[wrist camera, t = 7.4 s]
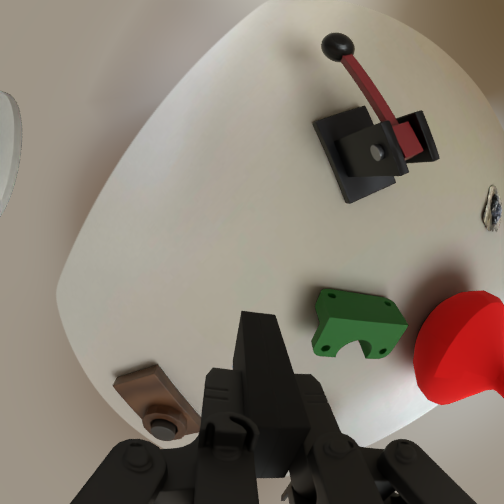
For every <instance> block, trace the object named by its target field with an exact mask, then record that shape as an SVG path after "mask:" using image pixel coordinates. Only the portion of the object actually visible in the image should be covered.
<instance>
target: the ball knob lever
mask: <svg viewBox="0 0 504 504" xmlns="http://www.w3.org/2000/svg"><path fill="white" fill-rule="evenodd" d="M321 48H322V51H323V53H324V55H325V56H326V57H327V58H329V59H330V60H332V61H335V62H341V63H342V64H343V65H344V67H345V68H346V70H347V71H348V72H349V74H350V75H351V76H352V78H353V79H354V81H355V82H356V84H357V85H358V87H359V88H360V90H361V91H362V93H363V94H364V96H365V97H366V99H367V100H368V102H369V103H370V105H371V107H372V108H373V110H374V111H375V113H376V115H377V116H378V118H379V120H380V121H381V122H384V121H387V120H390V123H391V125H392V128H393V130H394V132H395V135H396V137H397V140H398V143H399V145H400V148H401V151H402V153H403V156H404V159H405V160H408V159H410V158H412V157H414V156H415V155H417V154H419V153H421V152H422V151H423V148H422V146H421V145H420V143H419V141H418V139H417V137H416V135H415V133H414V131H413V129H412V128H411V126H410V124H409V122H405V123H401V124H399V123H398V121H397V120H396V118H395V116H394V115H393V113H392V111H391V110H390V108H389V106H388V105H387V103H386V101H385V100H384V98H383V97H382V95H381V94H380V92H379V91H378V89H377V88H376V86H375V85H374V83H373V82H372V80H371V79H370V78H369V76H368V75H367V73H366V72H365V71H364V69H363V68H362V66H361V65H360V64H359V62H358V61H357V60H356V59H355V57H354V56H353V54H354V51H355V48H354V44H353V42H352V40H351V39H350V38H349V37H347V36H346V35H344V34H341V33H331V34H328V35H327V36H325V37H324V39H323V40H322V44H321Z"/></svg>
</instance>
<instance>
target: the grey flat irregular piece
mask: <svg viewBox="0 0 504 504" xmlns="http://www.w3.org/2000/svg"><path fill="white" fill-rule="evenodd" d="M488 201H489V202H488V205H487V206H486V211H485V212H484V216H483V217H484V218H483V219H484V222H485V225H486V227H488V231H491V230H492V231H493V230H494V229H495V231H497V230H498V227H499V225H500V222H501V213H502V206H501V201H500V198H499V194H498V191H497V188H496V187H495V186H491V187H490V191H489V195H488Z"/></svg>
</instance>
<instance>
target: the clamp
mask: <svg viewBox="0 0 504 504" xmlns="http://www.w3.org/2000/svg"><path fill="white" fill-rule="evenodd" d="M315 309H316V312H317V315H318V319H319V322H320V324H319V326H318V328H317V330H316V332H315V334H314V336H313V338H312V341H311V342H312V347H313V351H314V353H315V354H316V355H318V356H325V357H336V354H337V352H338V351H339V350H340V349H341V348H342V347H343V346H344V345H346V344H348V343H350V342H353V341H356V340H359V343H360V345H361V348H362V350H363V353H364V355H365V358H367V359H380V358H383V357H385V356H387V355H388V354H389V353H390V352H391V351H392V349H393V348H394V347H395V345H396V344H397V342H398V341H399V339H400V338H401V336H402V335H403V333H404V332H405V330H406V329H407V327H408V326H409V325H408V323H407V322H406V320H405V319H404V317H403V315H402V314H401V312H400V311H399V309H398V307H397V306H396V304H395V303H394V302H393V301H391V300H390V299H388V298H384V297H378V296H371V295H365V294H358V293H352V292H346V291H339V290H333V289H323V290H322V291H321V293H320V295H319V297H318V300H317V302H316V304H315Z"/></svg>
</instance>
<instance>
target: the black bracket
mask: <svg viewBox="0 0 504 504" xmlns="http://www.w3.org/2000/svg"><path fill="white" fill-rule="evenodd" d="M396 120H397V121H398V123H399V124H401V123H405V122H409V124H410V126H411V128H412V129H413V131H414V133H415V135H416V137H417V139H418V141H419V143H420V145H421V146H422V148H423V151H422V152H421V153H419V154H417V155H415V156H414V157H412V158H410V159H408V160H405V159H404V156H403V153H402V151H401V148H400V145H399V143H398V140H397V137H396V135H395V132H394V130H393V128H392V125H391V123H390V120H387V121H384V122H380V123H378V124H375V125H374V124H373V122H372V120H371V117H370V115H369V113H368V111H367V109H366V107H365V106H362V107H358V108H355V109H352V110H348V111H345V112H342V113H339V114H336V115H333V116H330V117H327V118H324V119H321V120H318V121H315V122H314V123H313V126H314V128H315V130H316V132H317V134H318V137H319V139H320V141H321V143H322V145H323V148H324V150H325V152H326V154H327V157H328V159H329V161H330V164H331V166H332V169H333V171H334V173H335V176H336V178H337V181H338V183H339V186H340V189H341V191H342V194H343V196H344V199H345V202H346V203H349V204H350V203H353V202H355V201H357V200H359V199H361V198H364V197H366V196H368V195H370V194H372V193H375V192H377V191H379V190H381V189H384V188H386V187H388V186H390V185H392V184H395V183H396V181H395V178H394V176H402V175H404V174H406V173H408V172H409V170H408V167H407V165H406V163H418V162H433V161H436V160H438V159H440V158H439V154H438V151H437V148H436V145H435V142H434V140H433V137H432V134H431V131H430V129H429V126H428V124H427V121H426V118H425V116H424V114H423V111H422V110H421V111H417V112H414V113H411V114H408V115H405V116H402V117H399V118H396Z"/></svg>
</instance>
